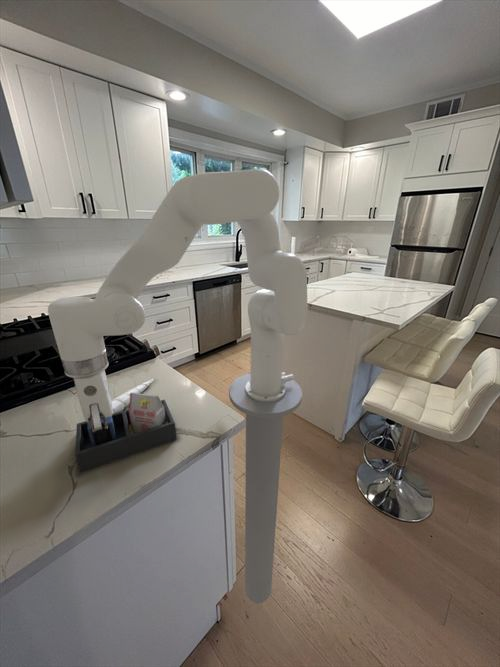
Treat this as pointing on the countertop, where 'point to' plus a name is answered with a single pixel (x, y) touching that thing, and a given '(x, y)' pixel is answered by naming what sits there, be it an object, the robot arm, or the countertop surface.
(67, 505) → the countertop surface
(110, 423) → the block
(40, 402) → the countertop surface
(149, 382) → the unicorn horn
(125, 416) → the sorter
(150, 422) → the white printed box
